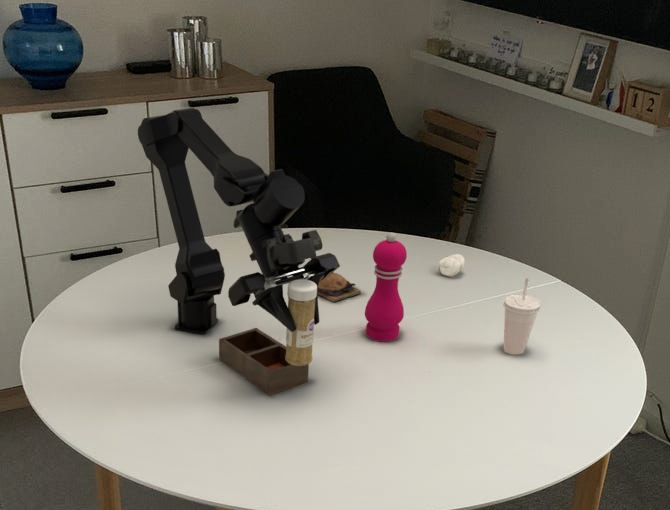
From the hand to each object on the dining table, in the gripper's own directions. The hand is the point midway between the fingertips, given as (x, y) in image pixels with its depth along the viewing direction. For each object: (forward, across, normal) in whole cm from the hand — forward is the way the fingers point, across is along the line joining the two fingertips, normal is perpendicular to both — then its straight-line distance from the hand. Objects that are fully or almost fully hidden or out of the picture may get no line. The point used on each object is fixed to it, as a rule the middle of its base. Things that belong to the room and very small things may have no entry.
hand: (305, 327), depth 140 cm
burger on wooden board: (-12, +32, +32) cm, 47 cm away
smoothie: (+15, +42, +3) cm, 45 cm away
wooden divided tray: (+1, 0, +17) cm, 17 cm away
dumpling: (-7, +60, +26) cm, 66 cm away
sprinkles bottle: (+4, 0, +6) cm, 7 cm away
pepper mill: (+2, +27, +16) cm, 32 cm away
